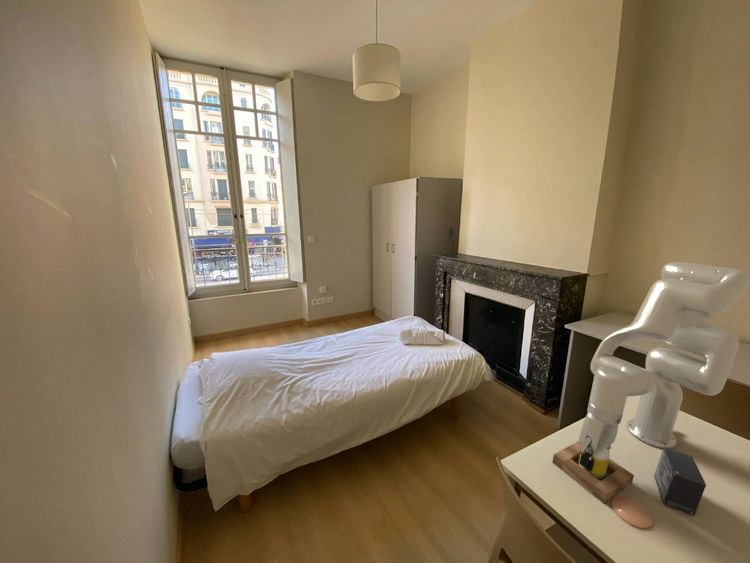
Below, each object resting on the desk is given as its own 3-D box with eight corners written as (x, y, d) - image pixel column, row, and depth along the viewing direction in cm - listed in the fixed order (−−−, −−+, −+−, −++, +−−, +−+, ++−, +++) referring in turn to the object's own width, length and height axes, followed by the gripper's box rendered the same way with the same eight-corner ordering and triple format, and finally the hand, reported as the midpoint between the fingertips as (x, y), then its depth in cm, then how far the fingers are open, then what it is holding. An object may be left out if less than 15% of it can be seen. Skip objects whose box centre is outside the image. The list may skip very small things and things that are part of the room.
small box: (697, 518, 75) (708, 485, 73) (662, 505, 79) (672, 473, 76) (683, 485, 84) (693, 455, 81) (653, 474, 87) (661, 445, 85)
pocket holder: (579, 447, 97) (581, 439, 97) (631, 483, 85) (634, 475, 84) (552, 462, 92) (553, 454, 91) (604, 503, 79) (606, 495, 78)
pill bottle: (609, 484, 85) (617, 450, 82) (583, 480, 86) (590, 447, 83) (597, 464, 91) (604, 433, 88) (573, 461, 92) (580, 430, 89)
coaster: (621, 492, 82) (622, 491, 82) (658, 519, 75) (658, 517, 75) (604, 505, 79) (605, 503, 79) (641, 534, 72) (641, 532, 72)
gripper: (607, 394, 89) (596, 443, 94) (571, 412, 82) (561, 464, 87) (637, 409, 83) (624, 461, 88) (601, 430, 76) (588, 485, 80)
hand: (593, 462), depth 87 cm, fingers closed on pill bottle, 6 cm apart
